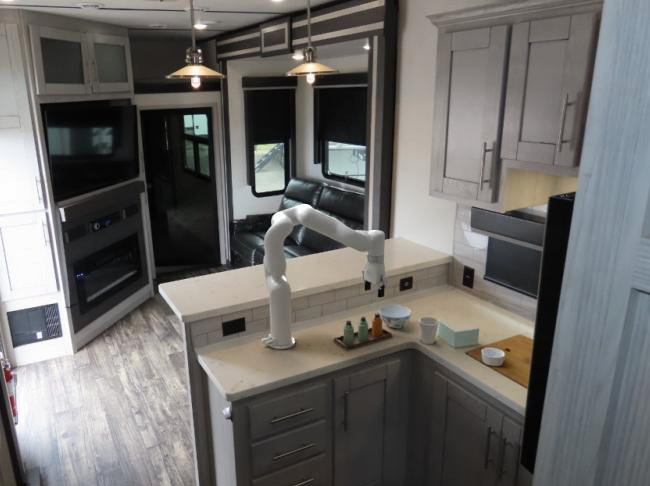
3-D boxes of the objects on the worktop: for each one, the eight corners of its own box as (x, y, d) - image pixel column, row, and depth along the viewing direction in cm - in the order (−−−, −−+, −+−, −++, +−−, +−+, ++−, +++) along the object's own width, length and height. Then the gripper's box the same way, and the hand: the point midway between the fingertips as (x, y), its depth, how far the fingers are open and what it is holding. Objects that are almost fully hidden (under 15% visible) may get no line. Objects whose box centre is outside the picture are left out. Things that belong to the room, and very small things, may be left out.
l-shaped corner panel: (478, 344, 224) (479, 328, 222) (453, 347, 222) (454, 332, 220) (461, 332, 236) (462, 317, 234) (438, 336, 233) (439, 321, 231)
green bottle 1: (347, 346, 227) (347, 324, 224) (341, 341, 231) (341, 320, 228) (355, 343, 229) (355, 322, 226) (349, 339, 233) (349, 318, 230)
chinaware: (379, 331, 240) (380, 316, 238) (378, 318, 254) (378, 304, 252) (412, 333, 237) (413, 317, 235) (409, 319, 252) (409, 305, 250)
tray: (346, 350, 224) (346, 346, 223) (333, 341, 233) (333, 337, 232) (391, 337, 234) (392, 333, 234) (377, 329, 243) (377, 325, 243)
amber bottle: (376, 337, 234) (376, 316, 231) (369, 333, 238) (370, 313, 235) (384, 335, 236) (384, 314, 233) (377, 331, 240) (378, 311, 237)
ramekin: (477, 362, 209) (477, 352, 208) (485, 354, 215) (486, 345, 214) (499, 369, 203) (500, 359, 202) (507, 361, 209) (508, 351, 208)
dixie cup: (435, 346, 224) (436, 326, 221) (416, 342, 228) (416, 322, 225) (439, 339, 230) (440, 318, 228) (421, 335, 235) (422, 315, 232)
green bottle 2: (361, 341, 230) (362, 320, 228) (355, 337, 234) (355, 316, 232) (370, 339, 232) (370, 318, 230) (363, 335, 236) (364, 314, 234)
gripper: (357, 254, 234) (356, 289, 238) (381, 264, 219) (379, 301, 223) (370, 251, 237) (369, 286, 241) (394, 261, 222) (393, 298, 226)
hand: (374, 293), depth 232 cm, fingers open, 9 cm apart
